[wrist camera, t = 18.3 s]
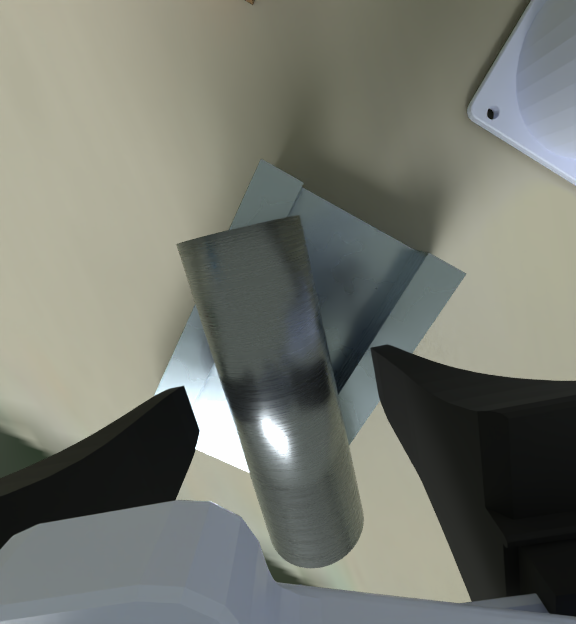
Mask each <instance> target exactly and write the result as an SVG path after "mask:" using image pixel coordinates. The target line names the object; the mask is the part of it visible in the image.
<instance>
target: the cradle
mask: <svg viewBox="0 0 576 624" xmlns="http://www.w3.org/2000/svg"><path fill="white" fill-rule="evenodd" d="M303 184H304V182H302V181H300V180H298V179H296V178H295V177H293V176H291V175H289V174H287V173H286V172H284V171H282V170H280V169H279V168H277V167H275V166H273V165H271V164H270V163H268V162H266V161H264V160H262V159H261V160H260V162H259V165H258V167H257V169H256V171H255V173H254V176H253V178H252V180H251V182H250V184H249V187H248V189H247V191H246V193H245V195H244V198H243V200H242V202H241V204H240V207H239V209H238V211H237V213H236V215H235V218H234V220H233V222H232V224H231V226H230V229H229V230H232V229H236V228H240V227H245V226H249V225H253V224H258V223H262V222H266V221H271V220H276V219H280V218H285V217H290V216H296V215H300V217H301V222H302V227H303V231H304V236H305V241H306V246H307V250H308V255H309V260H310V264H311V269H312V274H313V279H314V283H315V288H316V293H317V297H318V302H319V307H320V312H321V316H322V321H323V326H324V330H325V335H326V340H327V345H328V349H329V354H330V359H331V363H332V368H333V373H334V378H335V382H336V387H337V392H338V396H339V401H340V406H341V411H342V415H343V420H344V425H345V429H346V434H347V439H348V444H349V445H350V443H351V442H352V440H353V439H354V437H355V436H356V435H357V433H358V432H359V430H360V429H361V427H362V426H363V424H364V423H365V421H366V420H367V418H368V417H369V416H370V414H371V413H372V411H373V410H374V408H375V407H376V405H377V404H378V402H379V401H380V399H379V395H378V390H377V384H376V378H375V372H374V367H373V361H372V355H371V349H370V348H371V347H376V346H381V345H386V344H388V345H391V346H394V347H397V348H399V349H402V350H404V351H407V352H409V353H413V351H414V350H415V348H416V347H417V345H418V344H419V342H420V341H421V340H422V338H423V337H424V335H425V334H426V332H427V331H428V329H429V328H430V326H431V325H432V323H433V322H434V321H435V319H436V318H437V316H438V315H439V313H440V312H441V310H442V309H443V307H444V306H445V304H446V303H447V301H448V300H449V299H450V297H451V296H452V294H453V293H454V291H455V290H456V288H457V287H458V285H459V284H460V282H461V281H462V280H463V278H464V277H465V275H466V273H464V272H463V271H461V270H459V269H457V268H455V267H454V266H452V265H450V264H448V263H446V262H445V261H443V260H441V259H439V258H438V257H436V256H434V255H432V254H430V253H428V252H423V251H418V250H414V249H412V248H410V247H409V246H407V245H405V244H403V243H401V242H400V241H398V240H396V239H394V238H393V237H391V236H389V235H387V234H385V233H384V232H382V231H380V230H378V229H376V228H375V227H373V226H371V225H369V224H367V223H366V222H364V221H362V220H360V219H358V218H357V217H355V216H353V215H351V214H349V213H348V212H346V211H344V210H342V209H341V208H339V207H337V206H335V205H333V204H332V203H330V202H328V201H326V200H324V199H323V198H321V197H319V196H317V195H315V194H314V193H312V192H310V191H308V190H306V189H305V188H303ZM180 386H184V387H185V390H186V392H187V395H188V398H189V401H190V404H191V407H192V409H193V412H194V415H195V418H196V421H197V423H198V426H199V429H200V433H199V437H198V442H197V446H196V449H197V450H200V451H202V452H204V453H206V454H209V455H211V456H213V457H216V458H218V459H220V460H222V461H225V462H227V463H229V464H231V465H234V466H236V467H238V468H241V469H243V470H245V471H247V472H249V470H248V467H247V464H246V460H245V457H244V454H243V451H242V448H241V445H240V442H239V438H238V435H237V432H236V429H235V426H234V423H233V420H232V417H231V413H230V410H229V407H228V404H227V401H226V398H225V395H224V392H223V388H222V385H221V382H220V379H219V376H218V373H217V370H216V366H215V363H214V360H213V357H212V354H211V351H210V348H209V345H208V341H207V338H206V335H205V332H204V329H203V326H202V323H201V320H200V316H199V313H198V310H197V307H196V304H195V306H194V308H193V311H192V313H191V315H190V317H189V319H188V322H187V324H186V326H185V328H184V331H183V333H182V335H181V337H180V339H179V342H178V344H177V346H176V348H175V350H174V353H173V355H172V357H171V359H170V362H169V364H168V366H167V368H166V370H165V373H164V375H163V377H162V379H161V381H160V384H159V386H158V388H157V390H156V393H155V395H157V394H159V393H161V392H163V391H165V390H167V389H170V388H175V387H180ZM155 395H154V396H155Z"/></svg>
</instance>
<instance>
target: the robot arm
mask: <svg viewBox="0 0 576 624" xmlns="http://www.w3.org/2000/svg"><path fill="white" fill-rule="evenodd" d="M488 109H491V110H492V111H493V112H494V117H493V119H489V118H488V117H487V111H488ZM467 114H468V117H469V118H470V119H471V121H473V122H474V123H476V124H478V125H479V126H481V127H482V128H484V129H486V130H487V131H489V132H490V133H492V134H494V135H495V136H497V137H498V138H500V139H502V140H503V141H505V142H506V143H508V144H510V145H511V146H513V147H515V148H516V149H518V150H519V151H521V152H523V153H524V154H526V155H527V156H529V157H531V158H532V159H534V160H535V161H537V162H539V163H540V164H542V165H543V166H545V167H547V168H548V169H550V170H551V171H553V172H555V173H556V174H558V175H559V176H561V177H563V178H564V179H566V180H567V181H569V182H571V183H572V184H574V185H575V186H576V0H531V1H530V3H529V4H528V6H527V8H526V9H525V11H524V13H523V14H522V16H521V18H520V19H519V21H518V23H517V24H516V26H515V28H514V29H513V31H512V33H511V34H510V36H509V38H508V40H507V41H506V43H505V45H504V46H503V48H502V50H501V51H500V53H499V55H498V56H497V58H496V60H495V61H494V63H493V65H492V66H491V68H490V70H489V71H488V73H487V75H486V76H485V78H484V80H483V82H482V83H481V85H480V87H479V88H478V90H477V92H476V93H475V95H474V97H473V98H472V100H471V102H470V103H469V106H468V109H467ZM370 349H371V355H372V361H373V367H374V372H375V378H376V384H377V390H378V395H379V399H380V401H381V404H382V406H383V409H384V412H385V414H386V416H387V419H388V421H389V423H390V424H391V426H392V428H393V430H394V432H395V434H396V435H397V437H398V439H399V441H400V442H401V444H402V446H403V448H404V450H405V451H406V453H407V455H408V457H409V459H410V460H411V462H412V464H413V466H414V467H415V469H416V471H417V473H418V475H419V477H420V479H421V481H422V483H423V485H424V488H425V490H426V492H427V495H428V497H429V499H430V501H431V504H432V506H433V508H434V511H435V513H436V515H437V518H438V520H439V523H440V525H441V527H442V530H443V532H444V534H445V537H446V539H447V542H448V544H449V546H450V549H451V551H452V554H453V556H454V559H455V561H456V564H457V566H458V569H459V571H460V574H461V576H462V578H463V581H464V583H465V586H466V588H467V591H468V593H469V596H470V598H471V601H472V602H466V603H452V602H443V601H434V600H426V599H417V598H408V597H399V596H391V595H382V594H373V593H364V592H356V591H347V590H338V589H329V588H321V587H312V586H303V585H294V584H285V583H278V582H276V581H275V580H273V578H272V576H271V574H270V572H269V570H268V568H267V564H266V561H265V558H264V555H263V552H262V549H261V546H260V543H259V541H258V540H257V538H256V537H255V536H254V534H253V533H252V531H251V530H250V529H249V527H248V526H247V524H246V523H245V522H244V520H243V519H242V517H240V516H239V515H237V514H235V513H233V512H231V511H229V510H227V509H225V508H223V507H221V506H219V505H217V504H215V503H213V502H211V501H191V500H176V497H177V495H178V493H179V490H180V488H181V485H182V483H183V481H184V478H185V476H186V473H187V471H188V469H189V466H190V464H191V461H192V459H193V456H194V453H195V449H196V446H197V442H198V437H199V433H200V429H199V426H198V423H197V421H196V418H195V415H194V412H193V409H192V407H191V404H190V401H189V398H188V395H187V392H186V390H185V387H184V386H180V387H175V388H170V389H167V390H165V391H163V392H161V393H159V394H157V395H155V396H154V397H152V398H150V399H149V400H147V401H146V402H144V403H143V404H141V405H139V406H138V407H136V408H135V409H133V410H132V411H130V412H128V413H127V414H125V415H124V416H122V417H121V418H119V419H117V420H116V421H114V422H112V423H111V424H109V425H107V426H106V427H104V428H103V429H101V430H99V431H98V432H96V433H94V434H93V435H91V436H89V437H87V438H85V439H84V440H82V441H80V442H78V443H76V444H74V445H72V446H70V447H68V448H67V449H65V450H63V451H61V452H59V453H57V454H54V455H52V456H50V457H48V458H46V459H43V460H41V461H39V462H37V463H35V464H33V465H31V466H28V467H26V468H24V469H21V470H19V471H17V472H14V473H12V474H9V475H7V476H5V477H2V478H0V624H576V381H551V380H533V379H521V378H510V377H503V376H495V375H488V374H482V373H476V372H472V371H467V370H463V369H458V368H454V367H450V366H447V365H443V364H440V363H437V362H434V361H431V360H428V359H425V358H422V357H420V356H417V355H414V354H412V353H409V352H407V351H404V350H402V349H399V348H397V347H394V346H391V345H388V344H386V345H381V346H376V347H371V348H370Z"/></svg>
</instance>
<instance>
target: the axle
mask: <svg viewBox="0 0 576 624" xmlns="http://www.w3.org/2000/svg"><path fill="white" fill-rule="evenodd" d="M177 248H178V251H179V254H180V257H181V260H182V263H183V266H184V269H185V273H186V276H187V279H188V282H189V285H190V288H191V291H192V295H193V298H194V301H195V304H196V307H197V310H198V313H199V316H200V320H201V323H202V326H203V329H204V332H205V335H206V338H207V341H208V345H209V348H210V351H211V354H212V357H213V360H214V363H215V366H216V370H217V373H218V376H219V379H220V382H221V385H222V388H223V392H224V395H225V398H226V401H227V404H228V407H229V410H230V413H231V417H232V420H233V423H234V426H235V429H236V432H237V435H238V438H239V442H240V445H241V448H242V451H243V454H244V457H245V460H246V464H247V467H248V470H249V473H250V476H251V479H252V482H253V485H254V489H255V492H256V495H257V498H258V501H259V504H260V507H261V510H262V514H263V517H264V520H265V523H266V526H267V529H268V532H269V536H270V539H271V542H272V544H273V546H274V548H275V550H276V551H277V553H278V554H279V555H280V556H281V557H282V558H283V559H285V560H286V561H287V562H289V563H291V564H293V565H296V566H299V567H304V568H319V567H324V566H328V565H330V564H333V563H335V562H337V561H339V560H340V559H342V558H343V557H344V556H346V555H347V554H348V553H349V552H350V551H351V550H352V549H353V547H354V546H355V545H356V543H357V541H358V539H359V538H360V535H361V532H362V528H363V521H364V517H363V510H362V505H361V500H360V495H359V491H358V486H357V481H356V477H355V472H354V467H353V462H352V458H351V453H350V448H349V444H348V439H347V434H346V429H345V425H344V420H343V415H342V411H341V406H340V401H339V396H338V392H337V387H336V382H335V378H334V373H333V368H332V363H331V359H330V354H329V349H328V345H327V340H326V335H325V330H324V326H323V321H322V316H321V312H320V307H319V302H318V297H317V293H316V288H315V283H314V279H313V274H312V269H311V264H310V260H309V255H308V250H307V246H306V241H305V236H304V231H303V227H302V222H301V217H300V215H296V216H290V217H285V218H280V219H276V220H271V221H266V222H262V223H258V224H253V225H249V226H245V227H240V228H236V229H232V230H228V231H224V232H220V233H216V234H212V235H208V236H204V237H200V238H196V239H192V240H189V241H185V242H182V243H179V244H177Z"/></svg>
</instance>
